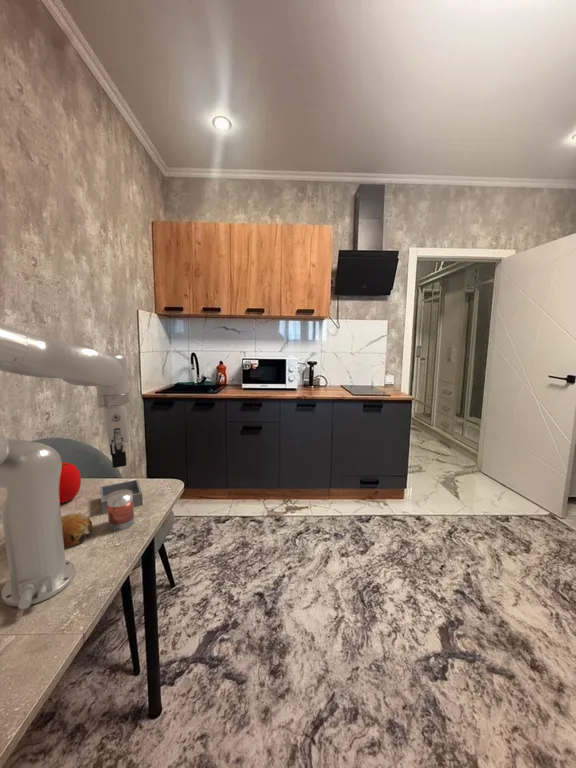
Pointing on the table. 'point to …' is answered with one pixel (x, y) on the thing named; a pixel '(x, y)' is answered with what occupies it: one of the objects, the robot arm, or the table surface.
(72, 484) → the tomato
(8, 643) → the table surface
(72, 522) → the bread roll
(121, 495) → the red drink can
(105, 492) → the crate
